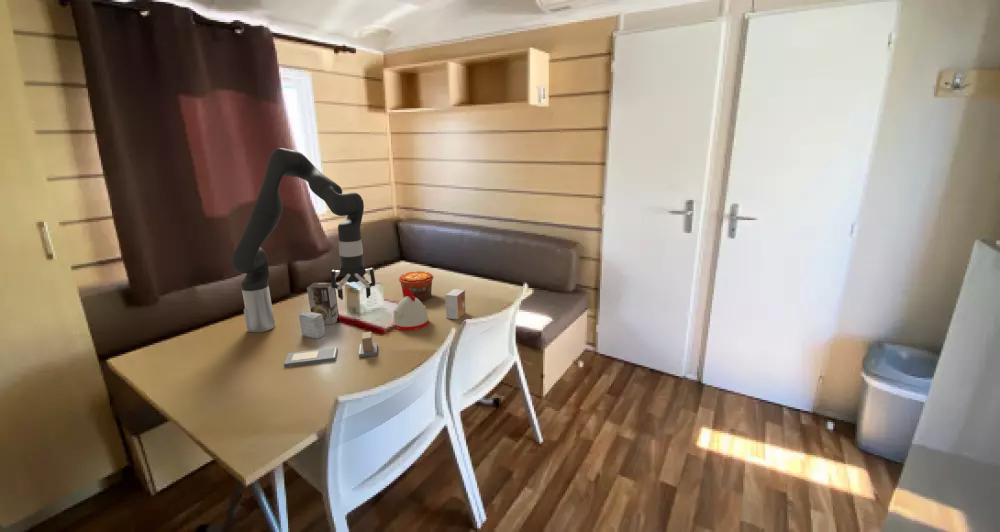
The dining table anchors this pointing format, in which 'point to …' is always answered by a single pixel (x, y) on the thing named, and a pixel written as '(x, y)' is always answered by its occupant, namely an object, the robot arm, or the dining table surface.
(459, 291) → the small box
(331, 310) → the coffee box
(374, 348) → the stub
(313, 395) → the dining table surface
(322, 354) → the ticket
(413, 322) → the kitchen timer
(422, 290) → the food container
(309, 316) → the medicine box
